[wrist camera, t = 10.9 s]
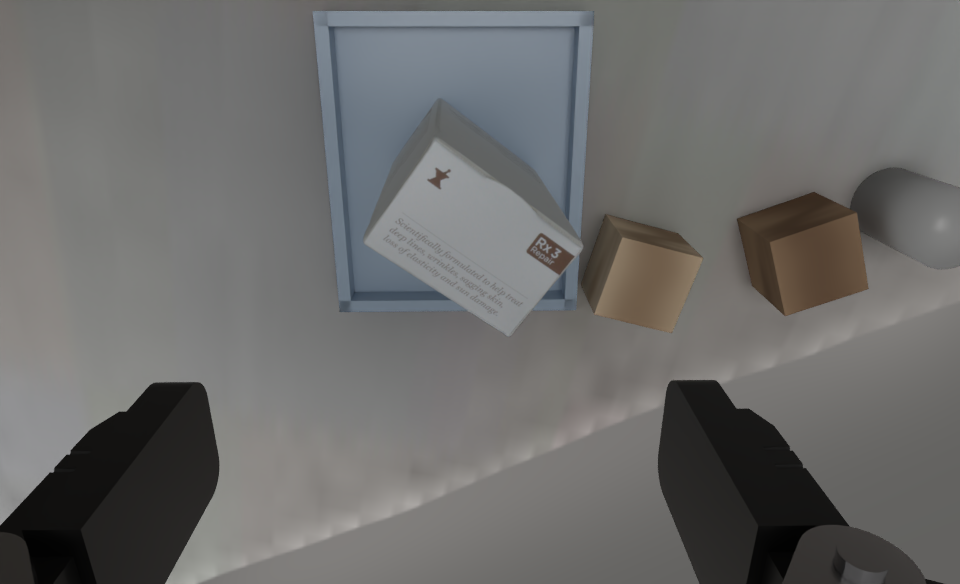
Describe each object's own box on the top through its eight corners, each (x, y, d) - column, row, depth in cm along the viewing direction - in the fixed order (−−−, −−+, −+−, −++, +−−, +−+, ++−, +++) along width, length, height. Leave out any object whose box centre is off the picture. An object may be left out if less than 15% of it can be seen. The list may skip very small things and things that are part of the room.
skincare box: (388, 168, 31) (345, 247, 20) (442, 89, 30) (427, 129, 19) (490, 239, 33) (503, 351, 22) (546, 168, 32) (589, 247, 20)
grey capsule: (929, 167, 33) (1005, 191, 28) (911, 235, 34) (981, 269, 30) (858, 167, 33) (923, 191, 28) (843, 236, 34) (902, 269, 30)
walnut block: (813, 191, 33) (857, 212, 30) (825, 260, 35) (868, 288, 31) (736, 218, 34) (769, 242, 30) (751, 285, 35) (785, 316, 31)
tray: (586, 11, 30) (594, 10, 28) (570, 295, 35) (576, 310, 33) (322, 11, 30) (312, 11, 28) (346, 296, 35) (339, 311, 33)
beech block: (677, 232, 34) (703, 258, 30) (650, 301, 35) (671, 333, 32) (605, 213, 34) (622, 237, 30) (580, 283, 35) (594, 314, 31)
